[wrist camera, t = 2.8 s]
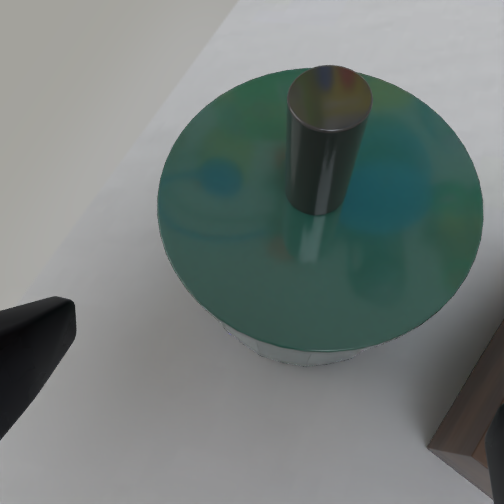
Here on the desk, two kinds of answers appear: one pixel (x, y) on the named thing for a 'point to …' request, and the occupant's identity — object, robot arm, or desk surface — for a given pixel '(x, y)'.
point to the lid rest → (473, 417)
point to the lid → (320, 210)
